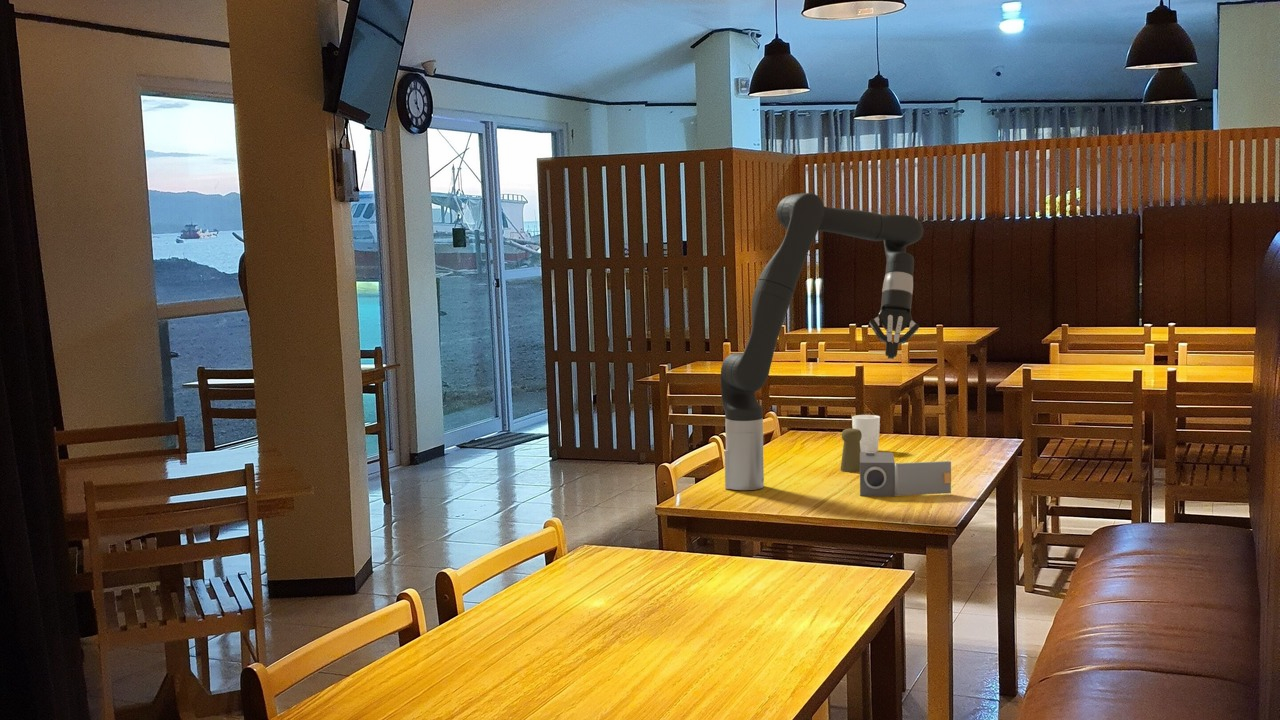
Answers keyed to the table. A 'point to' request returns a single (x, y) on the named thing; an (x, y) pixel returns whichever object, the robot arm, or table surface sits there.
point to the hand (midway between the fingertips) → (890, 358)
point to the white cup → (867, 431)
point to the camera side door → (922, 478)
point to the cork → (851, 450)
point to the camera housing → (877, 474)
